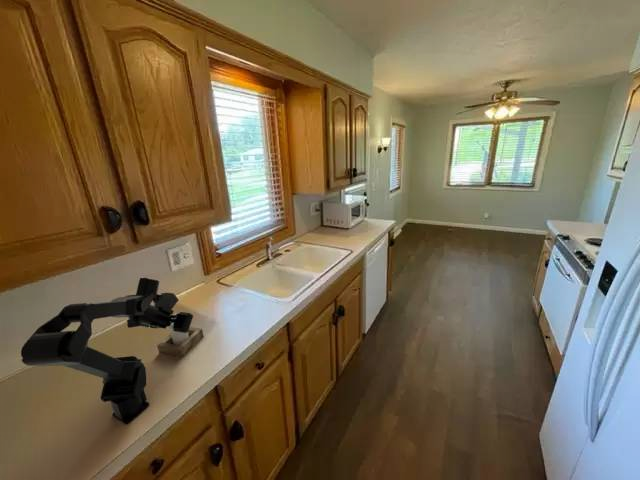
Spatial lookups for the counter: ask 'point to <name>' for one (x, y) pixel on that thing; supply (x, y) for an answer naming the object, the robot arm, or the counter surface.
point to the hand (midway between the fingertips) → (180, 324)
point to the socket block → (181, 350)
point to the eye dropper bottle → (178, 335)
